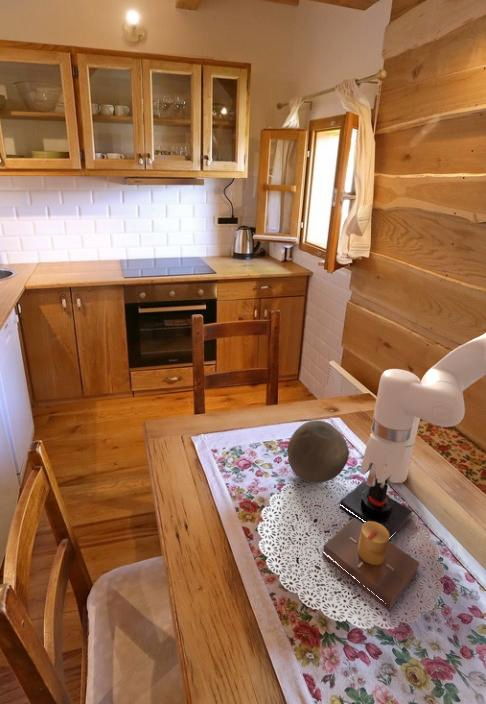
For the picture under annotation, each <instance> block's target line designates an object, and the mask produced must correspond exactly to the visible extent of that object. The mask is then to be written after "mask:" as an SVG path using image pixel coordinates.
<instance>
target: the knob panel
mask: <svg viewBox="0 0 486 704" xmlns="http://www.w3.org/2000/svg"><path fill="white" fill-rule="evenodd" d="M362 525H363V523H362V522H360V521H359V520H357V519H356V518H351V519H350V520H349V521H348V523H346V524H345V525H344V526H343V527H341V529H340V530H339V531H338V532H336V533H335V535H333V536H332V537H331V538H330V539H329V540H328V541H327V542H325V544H324V545H323V549H322V556H321V557H322V558H323V559H325V560H326V561H327V562H328V563H329V564H330V565H332V566H333V567H334V568H336V569H337V570H338V571H339V572H341V574H343V575H344V576H345V577H347V578H348V579H349V580H350V581H352V583H354V584H355V585H356V586H358V587H359V588H360V589H361V590H362V591H363V592H365V593H366V594H368V596H370V597H371V598H372V599H373V600H375V601H376V602H377V603H379V604H380V605H381V606H382V607H383V608H384V609H385V610H387V611H390V610H391V608H392V607H393V606H394V604H396V602H397V600H398V599H399V598H400V596H402V594H403V593H404V591H405V590H406V588H407V587H408V586H409V585H410V583H411V582H412V581H413V580H414V579H415V577H416V575H417V574H418V570H419V567H420V561H419V560H417V559H416V558H414V557H413V556H411V555H409V554H408V553H407V552H406V551H404V550H402V549H401V548H400V547H398V546H396V545H395V544H393V543H392V542H391V541H390V542H388V546H387V551H386V555H385V560H384V562H383V563H381V564H379V565H372V564H369V563H367V562H365V561H364V560H363V559H362V558H361V557H360V556H359V554H358V550H357V549H358V544H359V538H360V533H361V528H362ZM323 551H324V552H325V553H326V554H327V555H329V556H330V557H331V558H332V559H333V560H334V561H336V562H337V563H338V564H339V565H340V566H341V567H342V568H343V569H345V570H346V571H347V572H348V573H349V574H348V573H347V572H346V571H345V570H343V569H342V568H341V567H340V566H338V565H337V564H336V563H335V562H333V561H332V560H331V559H330V558H329V557H327V556H326V555H325V554H324V553H323ZM350 574H351V575H352V576H354V577H355V578H356V579H357V580H358V581H359V582H360V583H359V582H358V581H357V580H356V579H354V578H353V577H352V576H351V575H350ZM363 585H364V586H365V587H364V586H363ZM367 588H368V589H369V590H370V591H369V590H368V589H367ZM371 591H372V592H373V593H374V594H375V595H374V594H373V593H372V592H371ZM376 595H377V596H378V597H379V598H380V599H382V600H383V601H384V602H383V601H382V600H380V599H379V598H378V597H377V596H376ZM385 603H386V604H385Z"/></svg>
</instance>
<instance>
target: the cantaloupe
mask: <svg viewBox="0 0 486 704" xmlns="http://www.w3.org/2000/svg"><path fill="white" fill-rule="evenodd" d="M286 450H287V451H286V452H287V453H286V454H287V460H288V464H289V467H290V468H291V470H292V471H293V473H294V474H295V475H296V476H297V477H298V478H299V479H301V480H302V481H305V482H307V483H312V484H323V483H325V482H328V481H332V480H333V479H334V478H336V477H338V476H339V475H340V474H341V473H342V472H343V470H344V469H345V467H346V465H347V463H348V461H349V457H350V456H349V455H350V451H349V446H348V443H347V441H346V439H345V437H344V435H343V434H342V433H341V432H340V431H339V430H338V429H337V428H336V427H335V426H334V425H333V424H331V423H328V422H327V421H325V420H319V419H317V420H310V421H306V422H304V423H303V424H302V425H300V426H299V427H298V428H296V430H295V431H294V432H293V434H292V435H291V437H290V439H289V441H288V444H287V449H286Z"/></svg>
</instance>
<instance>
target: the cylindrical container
mask: <svg viewBox="0 0 486 704" xmlns="http://www.w3.org/2000/svg"><path fill="white" fill-rule="evenodd" d="M420 422H421V419H420V418H417V417H415V416H414V420H413V424H412V429H411V433H410V438H409V441H408V442H407V443H406V446H405V452H404V457H403V460H402V463H401V466H400V467H399V468H398V469H397V470H396V471H395V472H394V473H393V474H392V475H391V478H390V482H389V483H394V484H403V483H404V482H406V480H407V478H408V475H409V469H410V465H411V460H412V456H413V452H414V448H415V445H416V444H415V443H416V438H417V435H418V430H419V427H420Z"/></svg>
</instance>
